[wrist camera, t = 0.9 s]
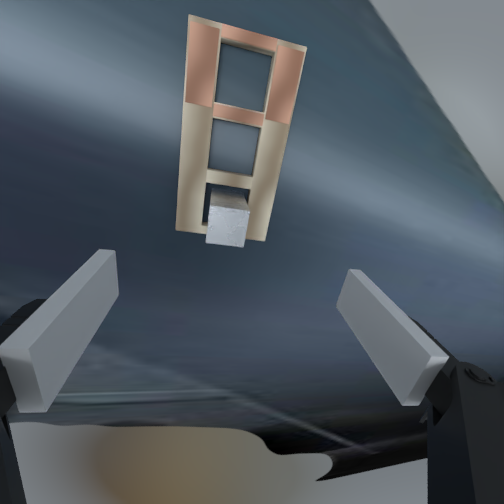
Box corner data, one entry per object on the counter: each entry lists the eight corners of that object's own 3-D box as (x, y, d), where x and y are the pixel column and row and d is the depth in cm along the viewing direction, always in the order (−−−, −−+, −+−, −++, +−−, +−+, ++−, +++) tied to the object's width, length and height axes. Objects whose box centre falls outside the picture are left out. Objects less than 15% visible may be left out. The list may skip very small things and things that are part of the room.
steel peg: (208, 216, 34) (205, 242, 26) (211, 187, 33) (210, 205, 25) (237, 220, 35) (243, 247, 27) (242, 191, 34) (250, 211, 25)
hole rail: (177, 226, 34) (175, 230, 33) (190, 20, 26) (188, 13, 24) (262, 236, 37) (265, 241, 35) (302, 51, 28) (307, 46, 26)
